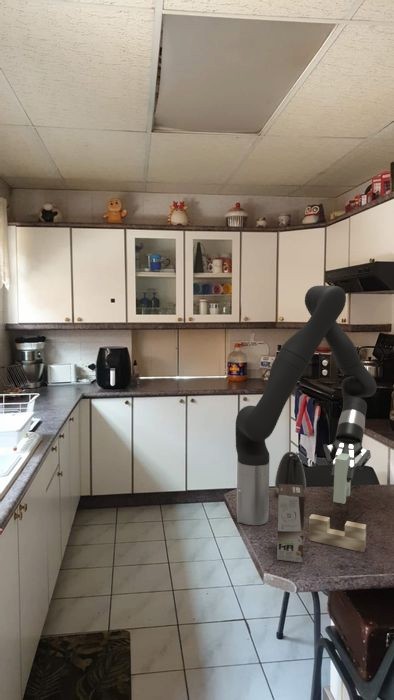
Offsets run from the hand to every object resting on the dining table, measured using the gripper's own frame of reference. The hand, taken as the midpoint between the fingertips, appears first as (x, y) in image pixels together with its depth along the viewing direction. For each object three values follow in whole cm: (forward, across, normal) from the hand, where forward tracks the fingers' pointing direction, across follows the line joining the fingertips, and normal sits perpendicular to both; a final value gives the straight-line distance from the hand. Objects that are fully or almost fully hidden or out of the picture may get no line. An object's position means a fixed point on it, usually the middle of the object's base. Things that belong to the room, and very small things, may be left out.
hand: (341, 479), depth 129 cm
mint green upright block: (+3, 0, +6) cm, 6 cm away
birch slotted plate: (+16, +1, +4) cm, 17 cm away
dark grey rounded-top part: (-3, -20, +24) cm, 31 cm away
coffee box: (+24, -8, -3) cm, 26 cm away
